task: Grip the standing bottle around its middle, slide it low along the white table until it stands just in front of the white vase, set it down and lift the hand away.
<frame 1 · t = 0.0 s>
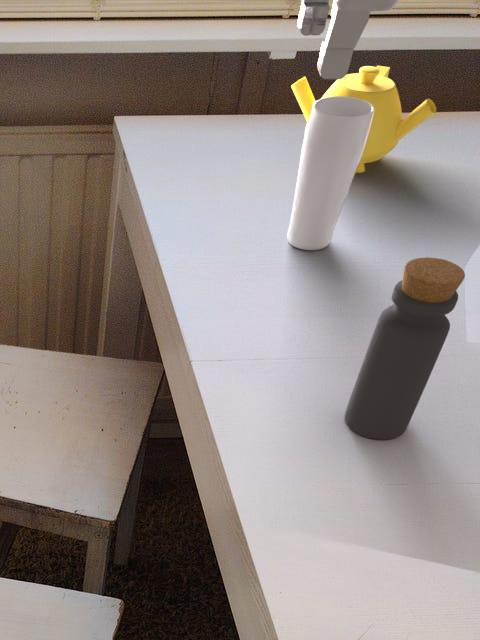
hand: (319, 53, 59), 30 cm above the table, tool pointing down, fingers open, 8 cm apart
teapot: (344, 160, 118), on the table
bottle: (374, 423, 79), on the table
white vase: (307, 243, 103), on the table
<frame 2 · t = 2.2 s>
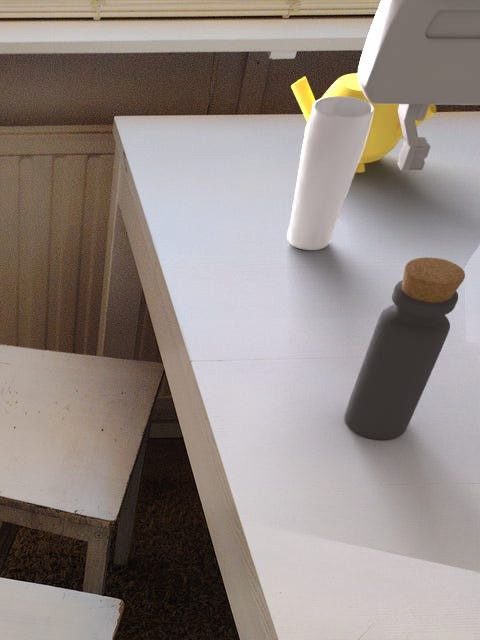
hand: (473, 168, 62), 23 cm above the table, tool pointing down, fingers open, 8 cm apart
nothing on the table moved.
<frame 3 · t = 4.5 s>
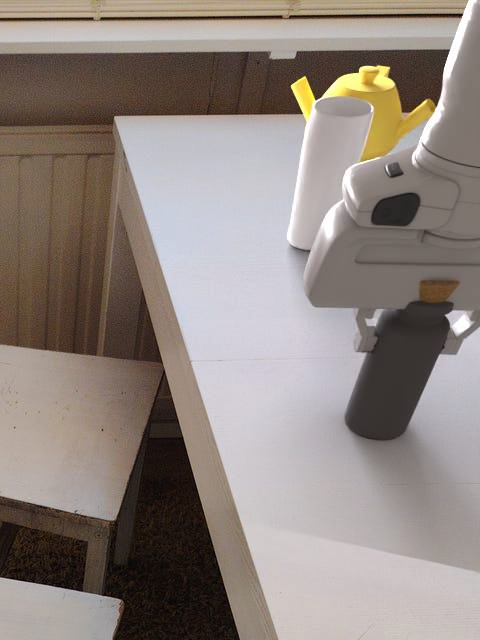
hand: (402, 350, 73), 8 cm above the table, tool pointing down, fingers closed on bottle, 6 cm apart
bottle: (374, 423, 79), on the table, touching gripper
everything else where it was.
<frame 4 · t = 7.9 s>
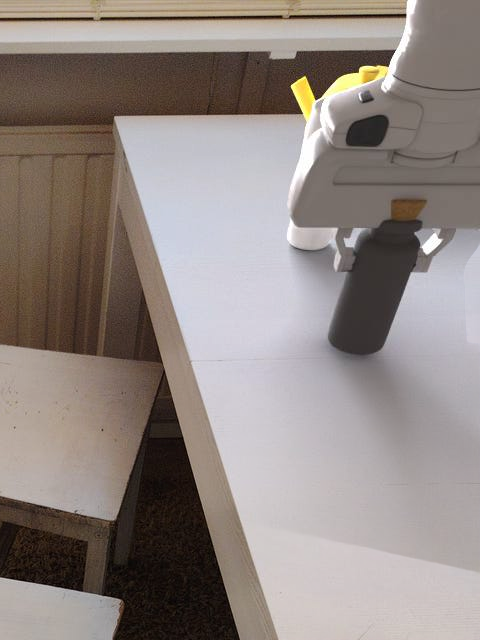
hand: (378, 269, 81), 8 cm above the table, tool pointing down, fingers closed on bottle, 6 cm apart
bottle: (354, 342, 87), point 1 cm above the table, touching gripper
everything else where it was.
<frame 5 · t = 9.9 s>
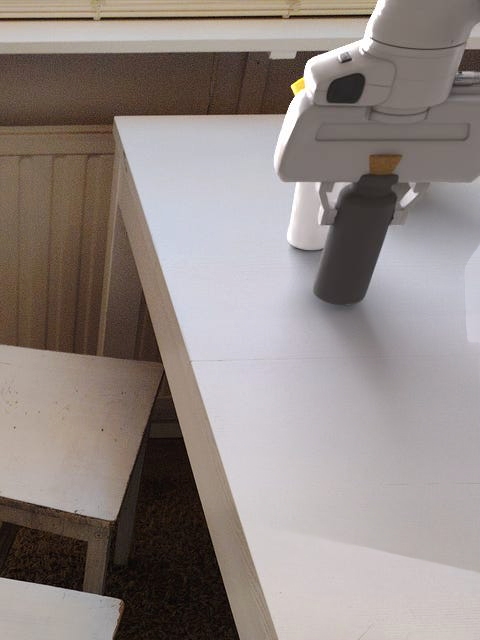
hand: (359, 223, 87), 8 cm above the table, tool pointing down, fingers closed on bottle, 6 cm apart
bottle: (338, 294, 93), point 1 cm above the table, touching gripper
everything else where it was.
when the fingers open (8 cm above the table, at t = 11.7 s): bottle stays where it is, on the table.
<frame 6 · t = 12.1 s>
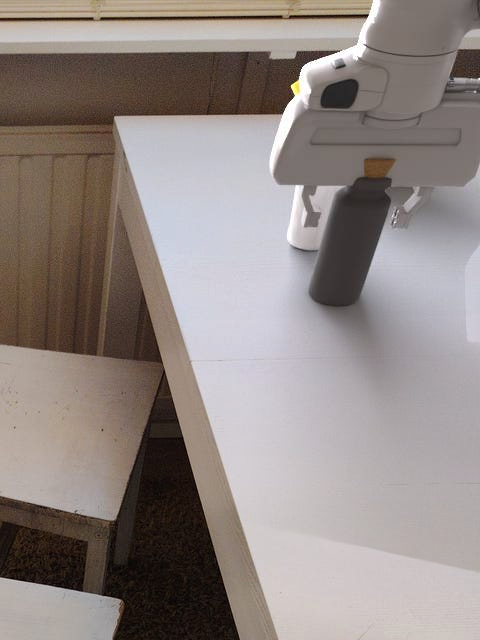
hand: (353, 226, 89), 8 cm above the table, tool pointing down, fingers open, 8 cm apart
bottle: (333, 294, 95), on the table
everything else where it was.
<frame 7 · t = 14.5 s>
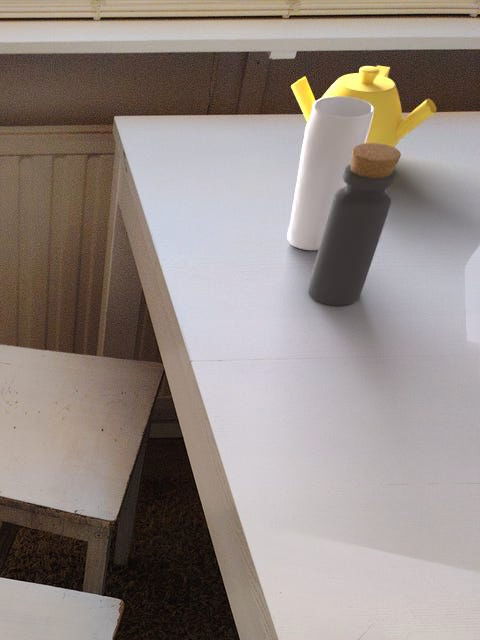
nothing on the table moved.
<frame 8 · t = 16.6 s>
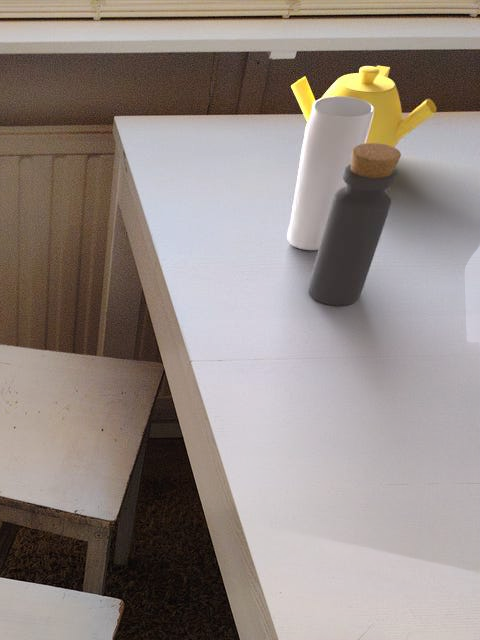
nothing on the table moved.
at the end: bottle inside the target area on the table beside the white vase (1.1 cm from its centre), on the table; bottle tilted 0°; white vase moved 0.2 cm from its start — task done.
